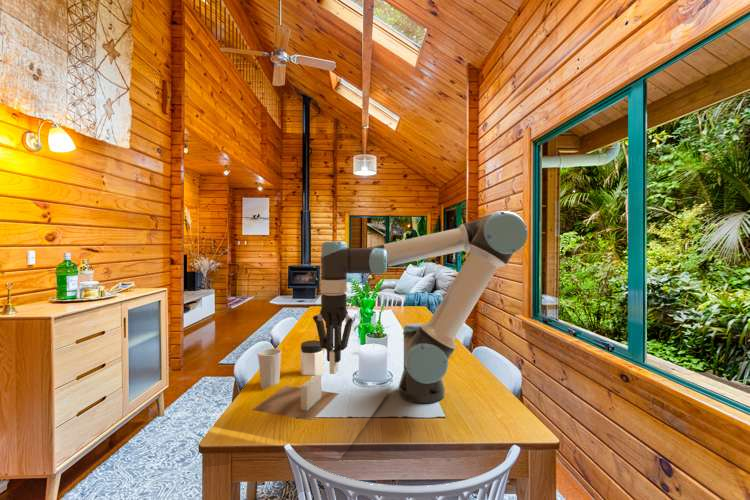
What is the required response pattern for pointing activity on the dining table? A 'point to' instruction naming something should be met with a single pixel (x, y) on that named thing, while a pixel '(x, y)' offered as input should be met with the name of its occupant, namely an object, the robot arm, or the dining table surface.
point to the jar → (312, 358)
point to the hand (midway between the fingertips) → (333, 372)
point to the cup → (269, 367)
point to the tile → (310, 392)
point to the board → (293, 403)
